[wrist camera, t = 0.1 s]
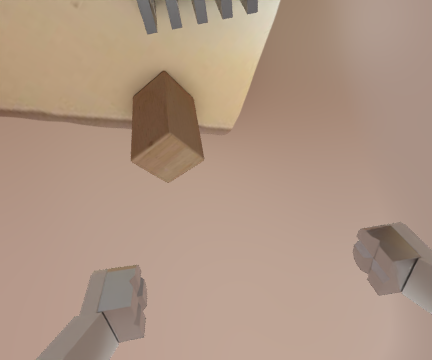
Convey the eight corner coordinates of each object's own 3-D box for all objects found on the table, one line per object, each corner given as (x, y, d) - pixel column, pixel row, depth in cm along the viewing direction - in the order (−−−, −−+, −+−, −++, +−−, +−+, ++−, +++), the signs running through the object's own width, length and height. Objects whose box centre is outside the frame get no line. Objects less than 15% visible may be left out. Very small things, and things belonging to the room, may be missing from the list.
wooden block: (132, 96, 63) (129, 162, 51) (164, 69, 59) (169, 133, 47) (163, 121, 70) (168, 184, 58) (194, 98, 66) (205, 160, 54)
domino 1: (146, 8, 50) (147, 34, 43) (137, -25, 46) (136, -2, 39) (156, 6, 50) (157, 32, 43) (147, -27, 46) (147, -4, 39)
